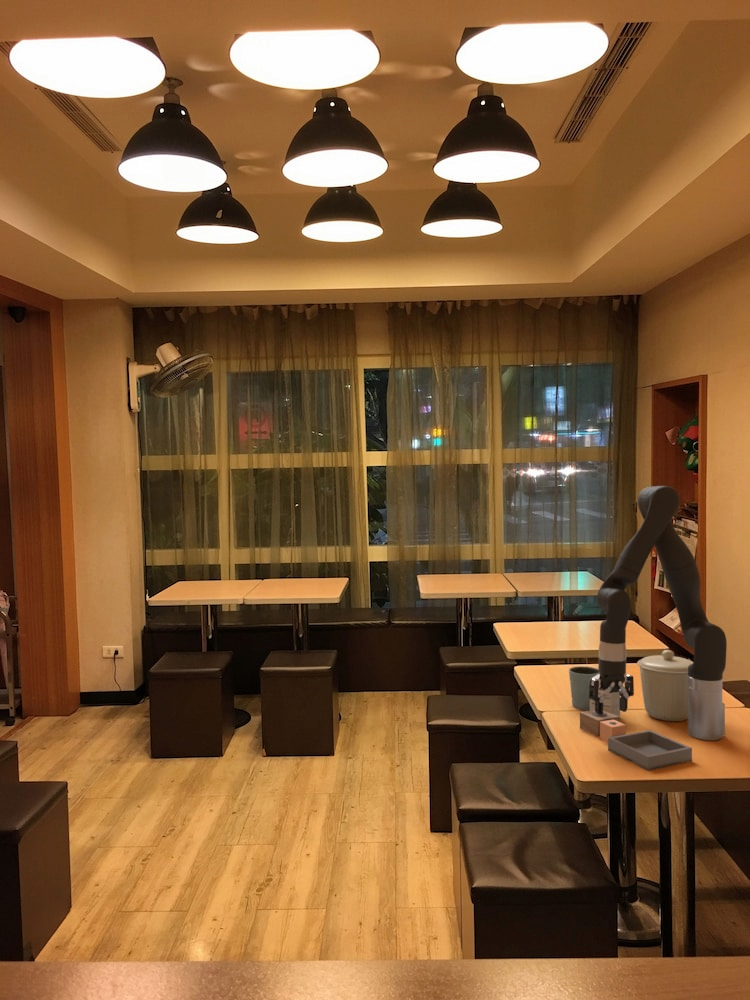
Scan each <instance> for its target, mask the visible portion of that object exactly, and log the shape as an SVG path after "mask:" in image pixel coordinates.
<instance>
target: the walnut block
mask: <svg viewBox="0 0 750 1000" xmlns="http://www.w3.org/2000/svg"><path fill="white" fill-rule="evenodd" d="M613 719H614V720H616V721H618V722H620V717H619V716H617V715H614V714H612V713H610V712H607V711H605V710H603V715H598V714H596V712H595V710H584V711H580V712H579V729H582V730H583V731H585V732H588V733H589V734H591V735H594V736H596V737H599V738H600V722H602V721H608V720H613Z"/></svg>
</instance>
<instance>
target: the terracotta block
mask: <svg viewBox="0 0 750 1000" xmlns="http://www.w3.org/2000/svg"><path fill="white" fill-rule="evenodd" d="M626 727H627V724H625V723H623V722H620V721H619V722H618V721H616V720H614V719H613V720H608V721H602V722H600V736H599V739H600V740H602V741H604V742H606V743H608V738H610V737H615V736H620V735H626V734H627V728H626Z"/></svg>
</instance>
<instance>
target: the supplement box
mask: <svg viewBox="0 0 750 1000" xmlns="http://www.w3.org/2000/svg"><path fill="white" fill-rule="evenodd" d="M599 677H600V674H598V675H596V676H594V677H593V679H599ZM599 685H600V684H599ZM602 691H603V692H604V690H602ZM593 695H594V693H593ZM600 696H601V695H600ZM620 697H621V696H620V695H619V693H618V692H613V693H609V694H608V696H606V697H605V698H604V700H603V710H605V711H607V712H610V713H612V714H614V715H617V716H619V718H621V710H620V709H619V701H620ZM599 698H600V697H599ZM590 710H595V701H594V700H592V699H590ZM590 710H589V711H590Z"/></svg>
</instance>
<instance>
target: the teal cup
mask: <svg viewBox="0 0 750 1000" xmlns="http://www.w3.org/2000/svg"><path fill="white" fill-rule="evenodd" d="M598 674H600V673H599V671H598V667H597V668H596V667H592V666H584V665H583V666H581V665H580V666H573V667H570V668H569V670H568V675H569V681H570V682H569V683H570V693H571V704H572V707H574V708H575V709H577V710H578V709H579V710H584V711H590V699H589V687H590V679H591V678H593V677H594V676H596V675H598Z"/></svg>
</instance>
